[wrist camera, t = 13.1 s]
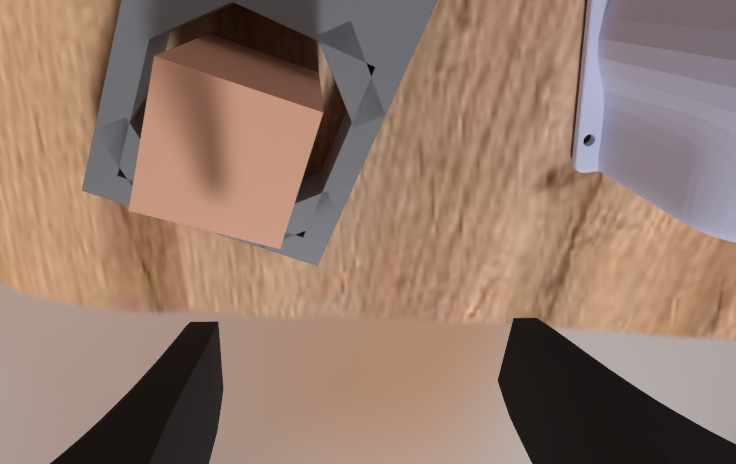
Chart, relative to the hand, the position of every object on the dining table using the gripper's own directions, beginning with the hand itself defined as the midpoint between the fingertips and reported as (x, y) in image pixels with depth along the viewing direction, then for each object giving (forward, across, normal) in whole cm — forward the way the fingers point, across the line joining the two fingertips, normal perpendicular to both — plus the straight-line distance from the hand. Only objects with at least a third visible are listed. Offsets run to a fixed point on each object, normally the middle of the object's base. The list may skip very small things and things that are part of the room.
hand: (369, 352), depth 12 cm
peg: (+10, +4, -4) cm, 12 cm away
